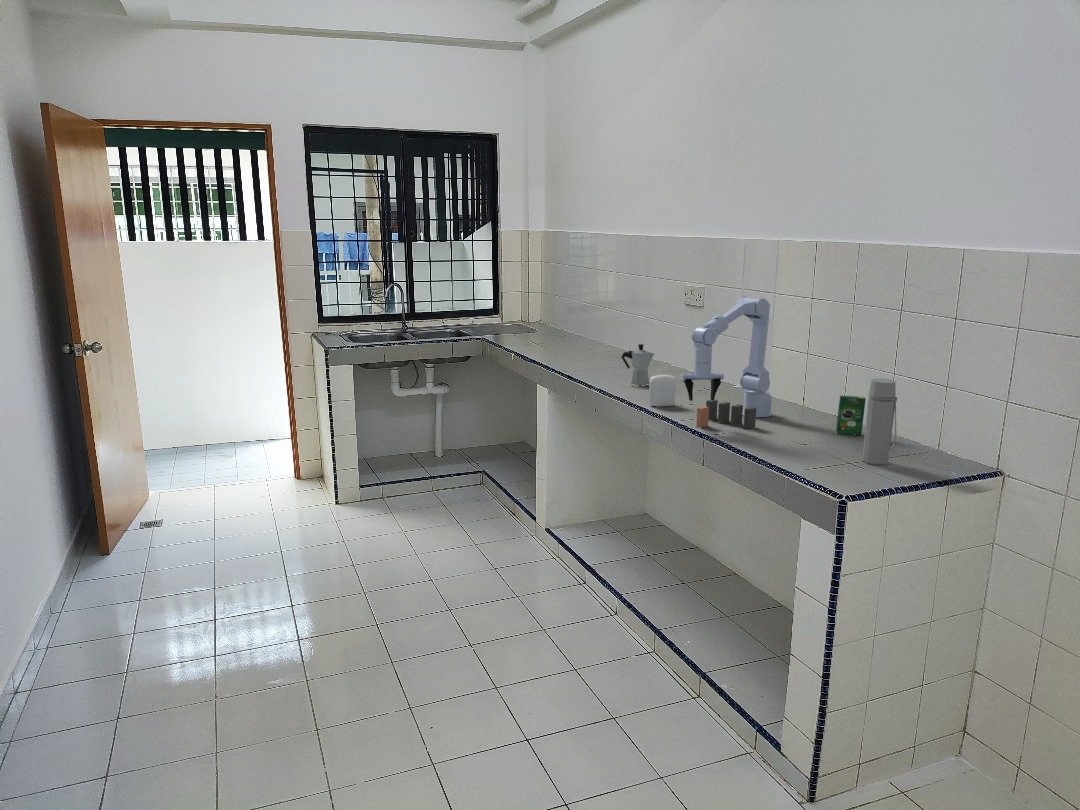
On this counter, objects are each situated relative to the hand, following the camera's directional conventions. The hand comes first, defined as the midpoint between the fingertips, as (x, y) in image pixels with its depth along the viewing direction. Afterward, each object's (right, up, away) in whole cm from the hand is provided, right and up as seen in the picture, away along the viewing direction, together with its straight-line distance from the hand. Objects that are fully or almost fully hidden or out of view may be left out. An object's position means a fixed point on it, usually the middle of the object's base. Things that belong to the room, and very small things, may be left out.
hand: (701, 399), depth 270 cm
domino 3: (+13, -9, +4) cm, 16 cm away
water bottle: (+44, -19, -40) cm, 63 cm away
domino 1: (+6, -7, +12) cm, 15 cm away
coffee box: (+48, -12, -10) cm, 50 cm away
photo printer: (-9, -2, +33) cm, 34 cm away
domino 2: (+10, -8, +8) cm, 15 cm away
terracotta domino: (+1, -9, +1) cm, 10 cm away
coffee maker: (-13, +7, +72) cm, 74 cm away
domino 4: (+17, -10, -1) cm, 19 cm away
